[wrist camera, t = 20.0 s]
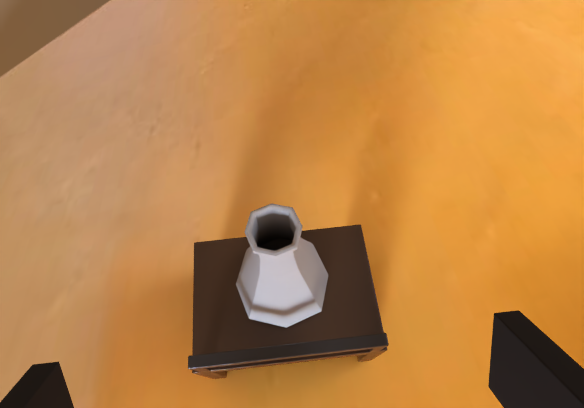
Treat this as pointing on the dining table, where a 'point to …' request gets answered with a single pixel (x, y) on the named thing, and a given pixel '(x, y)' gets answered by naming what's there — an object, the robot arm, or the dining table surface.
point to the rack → (276, 339)
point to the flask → (280, 269)
